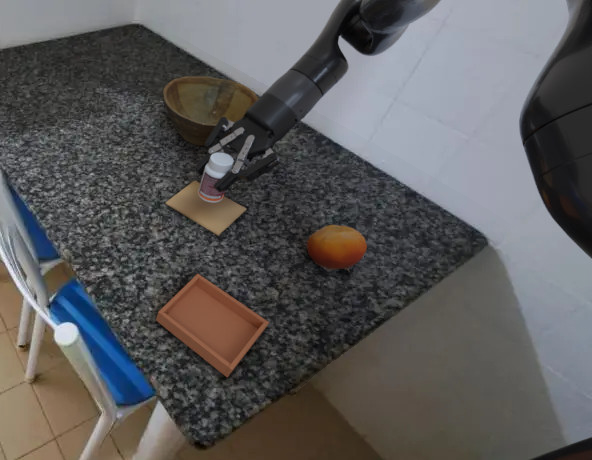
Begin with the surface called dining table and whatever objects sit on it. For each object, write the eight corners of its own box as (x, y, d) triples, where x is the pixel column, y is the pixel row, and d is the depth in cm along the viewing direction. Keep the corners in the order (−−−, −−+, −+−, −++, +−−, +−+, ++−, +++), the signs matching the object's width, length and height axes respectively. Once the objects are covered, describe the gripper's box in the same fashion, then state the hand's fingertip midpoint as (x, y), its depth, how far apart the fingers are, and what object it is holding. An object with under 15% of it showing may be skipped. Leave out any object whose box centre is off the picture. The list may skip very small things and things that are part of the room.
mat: (246, 210, 76) (246, 208, 75) (218, 236, 71) (218, 234, 71) (194, 181, 82) (194, 180, 81) (165, 203, 77) (165, 202, 76)
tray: (263, 330, 58) (269, 322, 56) (227, 377, 53) (232, 370, 51) (194, 282, 64) (197, 273, 62) (155, 320, 59) (158, 311, 57)
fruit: (332, 284, 62) (336, 236, 60) (296, 267, 69) (299, 224, 67) (376, 276, 63) (381, 229, 61) (336, 261, 71) (340, 218, 68)
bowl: (264, 133, 95) (280, 94, 88) (218, 176, 83) (232, 135, 76) (186, 102, 105) (195, 65, 98) (135, 137, 93) (141, 97, 86)
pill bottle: (225, 203, 72) (239, 167, 66) (200, 203, 72) (211, 166, 66) (219, 187, 76) (232, 151, 70) (195, 186, 76) (205, 150, 70)
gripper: (245, 76, 67) (174, 151, 72) (312, 115, 58) (225, 198, 63) (258, 98, 73) (192, 167, 78) (321, 137, 64) (241, 212, 69)
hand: (207, 180), depth 71 cm, fingers closed on pill bottle, 4 cm apart
